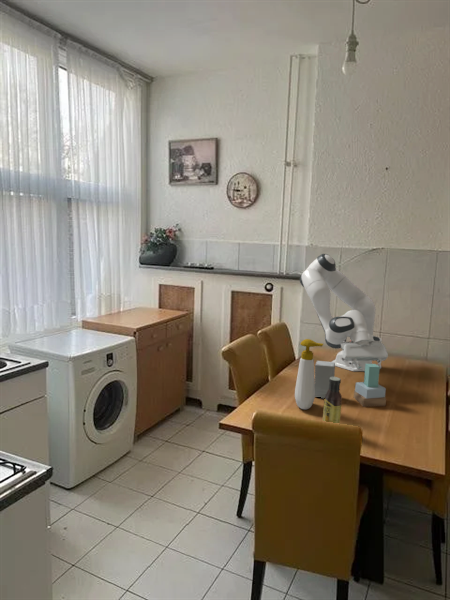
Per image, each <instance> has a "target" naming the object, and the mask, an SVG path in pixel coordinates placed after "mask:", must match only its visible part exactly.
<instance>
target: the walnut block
mask: <svg viewBox="0 0 450 600" xmlns="http://www.w3.org/2000/svg"><path fill="white" fill-rule="evenodd" d="M354 398H355V399H354ZM353 399H354V400H356V402H358V404H360V405H361V406H362V408H364V407H386V404H387V398H386V396H385V397H382V398H368V399H366V398H365V397H363V396H362V395H360V394H359V393H357V392H356V391H355V389H354V390H353Z"/></svg>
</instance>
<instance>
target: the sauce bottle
mask: <svg viewBox="0 0 450 600" xmlns="http://www.w3.org/2000/svg"><path fill="white" fill-rule="evenodd" d="M329 382H330V383H329V389H328V391H327V394H326V396H325V399H324V398H323V400H324V401H323V411H322V412H323V413H322V421H326V422H333V423H340V422H341V415H342V413H341V412H342V394H341V392H340V386H341V382H342V380H341V378H340V377H337V376H334V377H330V378H329Z"/></svg>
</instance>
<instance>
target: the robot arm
mask: <svg viewBox="0 0 450 600" xmlns="http://www.w3.org/2000/svg"><path fill="white" fill-rule="evenodd" d="M336 266H337V265H336V261H335V259H334V258H333V256H331V255H330V254H327V253H321V254H320V255H318V256H317V257H316V258H315V259H314V260H313V261H312V262H311V263H310V264H309V265H308V266H307V268H306V269H305V270H304V271H303V272H302V273H301V275H300V277H299V283H300V285H301V286H302V287H303V288H304V290H305V292H306V295H307V297H308V298H309V300H310V302H311V304H312V306H313V309H314V310H315V312H316V315H317V318H318V320H319V323H320V325H321V327H322V329H323V332H324V342H325V344H326V345H327V346H328V347H329V348H332V349H341V350H340V351H338V352H337V354H336V356H335V359H333V360H332V361H331V362H335V367H336V368H337V367H338V368H341V369H344V370H348V371H351V372H365V364H373V362H375V361H376V363H377V364H376V365H378V366H379V367H380V369H379V370H381V369H382V365H381V364H382V361H383V362H384V361H386V360H387V359H388V358H389V354H388V350H387V348H386V346H385V344H384V343H383V339H382V337H378V336H375V335H373V334H374V328H375V320H376V310H377V309H376V305H375V302H374V300H373V299H372V298H371V297H369V295H367V294H366V293H365V292H364V291H363V290H362V289H360V287H358V286H357V285H356V284H355V283H354V282H352V280H351V279H350V278H349V277H347V276H346V275H345V274H344V272H343V273H342V271H340V270H339V269H337V268H336ZM331 292H332V293H333V294H334V295H335V296H336V297H337V298H338V300H340V301H342V302H343V303H344V304H346V305H347V306H348V307H349V308H350V309H351V310H347V311H346V312H345V313H344V314H342V315H340V316H335V317H333V316H332V313H331V308H330V307H331V306H330V305H331V295H332V294H331ZM347 338H350V340H349V341H347Z"/></svg>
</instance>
